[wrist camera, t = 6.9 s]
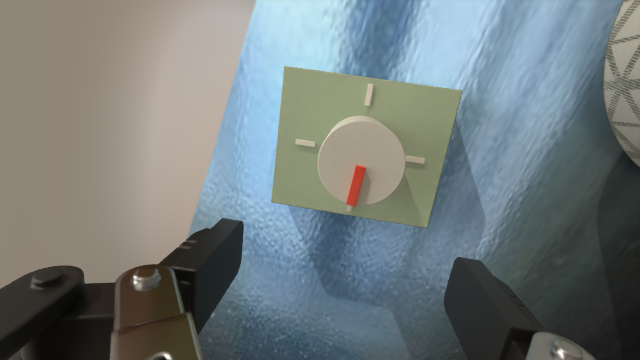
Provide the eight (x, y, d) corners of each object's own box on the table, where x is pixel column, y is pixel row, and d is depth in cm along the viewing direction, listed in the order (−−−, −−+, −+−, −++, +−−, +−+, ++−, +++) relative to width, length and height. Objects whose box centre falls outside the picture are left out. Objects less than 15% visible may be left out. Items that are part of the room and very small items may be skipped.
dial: (332, 108, 21) (327, 111, 16) (403, 124, 21) (418, 132, 16) (317, 176, 22) (308, 196, 18) (384, 191, 22) (392, 216, 17)
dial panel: (279, 190, 26) (270, 203, 23) (292, 69, 23) (283, 65, 20) (418, 213, 25) (427, 229, 22) (448, 91, 23) (463, 90, 20)
